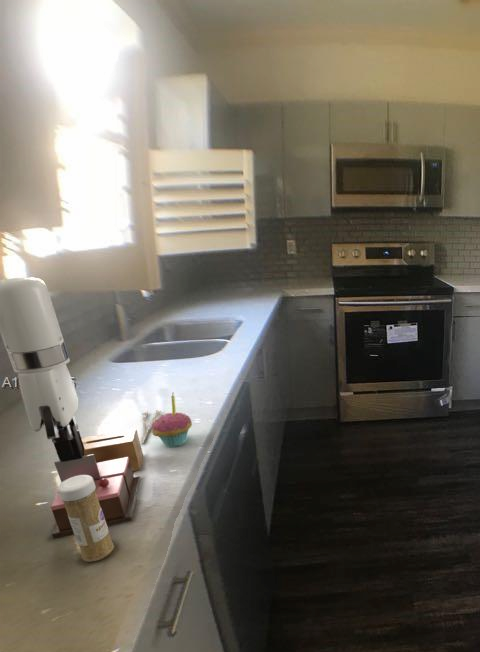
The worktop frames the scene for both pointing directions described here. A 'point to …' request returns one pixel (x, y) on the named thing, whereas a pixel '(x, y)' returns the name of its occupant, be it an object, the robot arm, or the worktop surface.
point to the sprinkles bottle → (86, 517)
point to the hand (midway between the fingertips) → (72, 455)
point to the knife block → (115, 447)
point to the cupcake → (172, 427)
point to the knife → (78, 463)
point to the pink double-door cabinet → (105, 496)
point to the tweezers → (149, 424)
